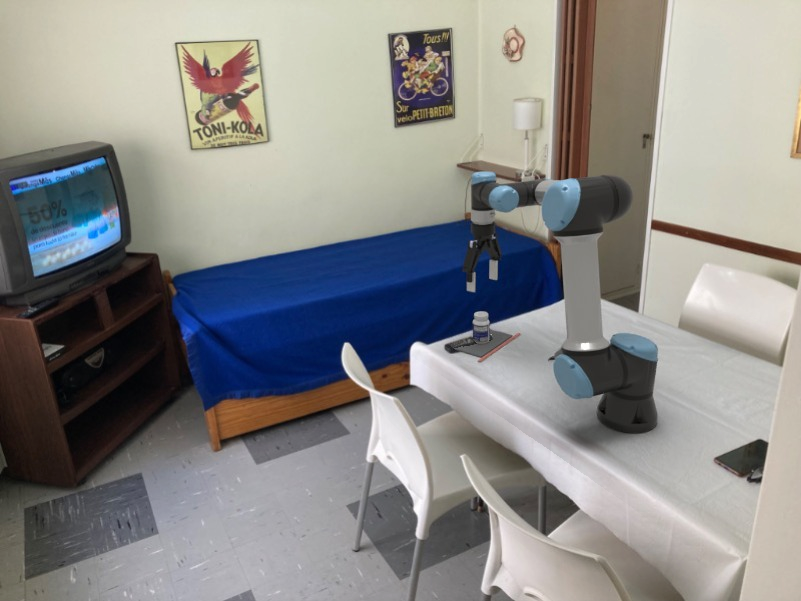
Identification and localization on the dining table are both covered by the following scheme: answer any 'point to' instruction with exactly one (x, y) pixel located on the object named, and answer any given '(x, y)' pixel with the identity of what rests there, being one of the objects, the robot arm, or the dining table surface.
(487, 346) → the mat
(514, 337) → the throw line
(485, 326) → the pill bottle
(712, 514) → the dining table surface
